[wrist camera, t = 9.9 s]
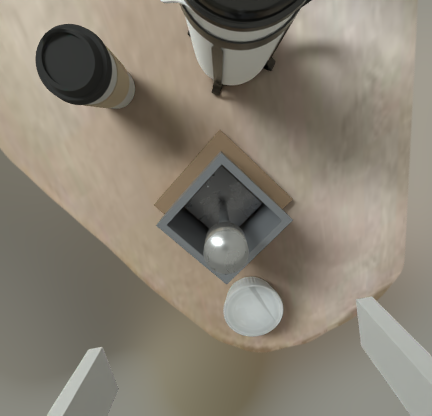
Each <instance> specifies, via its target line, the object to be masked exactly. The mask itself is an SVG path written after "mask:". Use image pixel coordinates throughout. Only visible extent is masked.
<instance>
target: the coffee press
mask: <svg viewBox="0 0 432 416" xmlns="http://www.w3.org/2000/svg"><path fill="white" fill-rule="evenodd" d="M161 1H162V2H163V3H180V6H181V8H182V11H183V13H184V15H185V17H186V21H187V25H188V29H189V31H188V35H189V36H190V37H191V40H192V44H193V47H194V51H195V55H196V58H197V60H198V63H199V65H200V66H201V68H202V69H203V71H204V72H205V73H206V74H207V75H208V76H209V77H210V78H211V79H213V80H214V85H213V89H212V93H214V94H216V95H220V92H221V89H222V86H223V84H224V85H239V84H243V83H245V82H248V81H249V80H251V79H253V78H254V77H255V76H256V75H257V74H258V73H259V72H260V71H261V70H262V69H263V68H264V69H266V70H269V71H272V69H273V67H274V64H275V60H274V59H273V58H272V56H273V54H274V52H275V50H276V49H277V47H278V45H279V44H280V42H281V40H282V39H283V37H284V35H285V34H286V32H287V30H288V29H289V27H290V25H291V24H292V22H293V20H294V19H295V17H296V15H297V13H298V12H299V10H300V8H301V7H303V6H304V5H306V4H307V3H309V2H310V1H311V0H161ZM269 57H270V58H269ZM268 59H269V60H268Z"/></svg>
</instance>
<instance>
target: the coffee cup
mask: <svg viewBox="0 0 432 416" xmlns="http://www.w3.org/2000/svg"><path fill="white" fill-rule="evenodd" d="M36 67H37V71H38V74H39V77H40V79H41V81H42V82H43V84H44V85H45V86H46V88H47V89H48V90H49V91H50V92H52V93H53V94H54V95H56V96H57V97H59V98H60V99H62V100H63V101H65V102H68V103H71V104H75V105H85V106H93V107H101V108H115V109H118V108H123V107H125V106H127V105H128V104H129V103H130V102H131V101H132V99H133V97H134V94H135V84H134V81H133V78H132V77H131V75H130V74H129V73H128V72H127V71H126V69H125V67H124V66H123V65H122V63H121V62H120V61H119V60H118V59H117V58H116V57H115V56H114V54H113V53H112V52H111V51H110V50H109V49H108V48H107V47H106V46H105V45H104V43H103V42H102V40H101V39H100V38H99V37H98V36H97V35H96V34H94V33H93V32H92V31H90V30H88V29H86V28H84V27H82V26H79V25H74V24H63V25H59V26H56V27H54V28H52V29H51V30H49V31H48V32H47V33H45V35H44V36H43V37H42V39H41V40H40V42H39V45H38V47H37V51H36Z"/></svg>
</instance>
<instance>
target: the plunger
mask: <svg viewBox="0 0 432 416" xmlns="http://www.w3.org/2000/svg"><path fill="white" fill-rule="evenodd" d="M261 204H262V203H261V202H260V201H259V200H258V199H257V198H256V197H255V196H254V195H253V194H252V193H251V192H250V191H249V190H247V189H246V188H245V187H244V186H243V185H242V184H241V183H240V182H239V181H238V180H237V179H236V178H235V177H233V176H232V175H231V174H230V173H229V172H228V171H227V170H226V169H225V168H224V167H223V166H222V165H221V166H220V167H219V168H218V170H217V171H216V172H215V173H214V174H213V175H212V176H211V177H210V178H209V179H208V181H207V182H206V183H205V184H204V185H203V186H202V187H201V188H200V189H199V190H198V192H197V193H196V194H195V195H194V196H193V197H192V198H191V199H190V200H189V201H188V203H187V204H186V205H185V206H184V207H185V208H186V209H187V210H189V211H190V212H191V213H192V214H193V215H194V216H195V217H197V218H198V219H199V220H200V221H201V222H202V223H204V224H205V225H206V226H207V227H208V228H209V230H208V232H207V234H206V237H205V244H204V251H203V255H204V259H205V262H206V264H207V265H208V266H209V267H210V268H211V269H212V270H213V271H215V272H218V273H221V274H231V273H235V272H237V271H239V270H240V269H241V268H243V267H244V265H245V264H246V262H247V260H248V257H249V248H248V245H247V241H246V238H245V234H244V232H243V231H242V229H241V228H240V227H239V226H240V225H241V224H242V223H243V222H244V221H245V220H246V219H247V218H248V217H249V216H250V215H251V214H252V213H253V212H254V211H255V210H256V209H257V208H258V207H259V206H260V205H261Z"/></svg>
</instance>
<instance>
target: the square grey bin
mask: <svg viewBox="0 0 432 416" xmlns="http://www.w3.org/2000/svg"><path fill="white" fill-rule="evenodd" d="M221 165H222V166H223V167H224V168H225V169H226V170H227V171H228V172H229V173H230V174H231V175H232V176H233V177H235V178H236V179H237V180H238V181H239V182H240V183H241V184H242V185H243V186H244V187H245V188H246V189H247V190H249V191H250V192H251V193H252V194H253V195H254V196H255V197H256V198H257V199H258V200H259V201H260V202H261V203H262V204H261V205H260V206H259V207H258V208H257V209H256V210H255V211H254V212H253V213H252V214H251V215H250V216H249V217H248V218H247V219H246V220H245V221H244V222H243V223H242V224H241V225H240V226H239V227H240V228H241V229H242V231H243V232H244V234H245V238H246V241H247V245H248V248H249V257H248V260H247V262H246V264H245V265H244V267H245V266H246V265H247V264H248V263H249V262H250V261H251V260H252V259H253V258H254V257H255V256H256V255H258V254H259V253H260V252H261V251H262V250H263V249H264V248H265V247H266V246H267V245H268V244H269V243H270V242H271V241H272V240H273V239H274V238H275V237H276V236H277V235H278V234H279V233H280V232H281V231H282V230H283V229H284V228H285V227H286V226H287V225H288V224H289V223H290V222H291V221H293V219H292V218H291V217H290V216H289V215H288V214H287V213H286V212H285V211H284V210H283V208H284V207H285V206H286V205H287V204H288V203H289V202H290V201H291V200H292V198H291V197H290V196H289V195H288V194H287V193H286V192H285V191H284V190H283V189H282V188H281V187H279V186H278V185H277V184H276V183H275V182H274V181H273V180H272V179H271V178H270V177H269V176H268V175H267V174H266V173H265V172H264V171H263V170H262V169H261V168H260V167H259V166H257V165H256V164H255V163H254V162H253V161H252V160H251V159H250V158H249V157H248V156H247V155H246V154H245V153H244V152H243V151H242V150H241V149H240V148H239V147H238V146H237V145H235V144H234V143H233V142H232V141H231V140H230V139H229V138H228V137H227V136H226V135H225V134H224V133H223V132H222V131H221V130H219V131H218V132H217V133H216V135H215V136H214V137H213V138H212V139H211V140H210V141H209V143H208V144H207V145H206V146H205V147H204V148H203V149H202V151H201V152H200V153H199V154H198V155H197V156H196V157H195V159H194V160H193V161H192V162H191V163H190V164H189V165H188V167H187V168H186V169H185V170H184V171H183V172H182V173H181V174H180V176H179V177H178V178H177V179H176V180H175V181H174V182H173V184H172V185H171V186H170V187H169V188H168V189H167V190H166V192H165V193H164V194H163V195H162V196H161V197H160V198H159V200H158V201H157V202H156V203H155V204H154V206H155V207H157V208H158V209H159V210H160V211H161V212H163V213H164V214H165V215H164V216H163V217H162V219H161V220H160V221H159V223H158V224H157V225H156V226H157V227H158V228H160V229H161V230H162V231H163V232H164V233H166V234H167V235H168V236H169V237H170V238H172V239H173V240H174V241H175V242H176V243H178V244H179V245H180V246H181V247H182V248H184V249H185V250H186V251H187V252H188V253H190V254H191V255H192V256H193V257H194V258H196V259H197V260H198V261H199V262H200V263H202V264H203V265H204V266H205V267H206V268H207V269H209V270H210V271H211V272H212V273H213V274H215V275H216V276H217V277H218V278H219V279H221V280H222V281H223V282H224V283H225V284H228V283H229V282H230V281H231V280H232V279H233V278H234V277H235V276H236V275H237V274H238V273H239V272H240V271H241V270H242V269H243V268H244V267H243V268H241V269H240V270H239V271H237V272H235V273H231V274H221V273H218V272H215V271H213V270H212V269H211V268H210V267H209V266H208V265H207V264H206V262H205V259H204V255H203V251H204V244H205V237H206V234H207V232H208V230H209V228H208V227H207V226H206V225H205V224H204V223H202V222H201V221H200V220H199V219H198V218H197V217H195V216H194V215H193V214H192V213H191V212H190V211H189V210H187V209H186V208H185V207H184V206H185V205H186V204H187V203H188V201H189V200H190V199H191V198H192V197H193V196H194V195H195V194H196V193H197V192H198V190H199V189H200V188H201V187H202V186H203V185H204V184H205V183H206V182H207V181H208V179H209V178H210V177H211V176H212V175H213V174H214V173H215V172H216V171H217V170H218V168H219V167H220V166H221Z"/></svg>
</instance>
